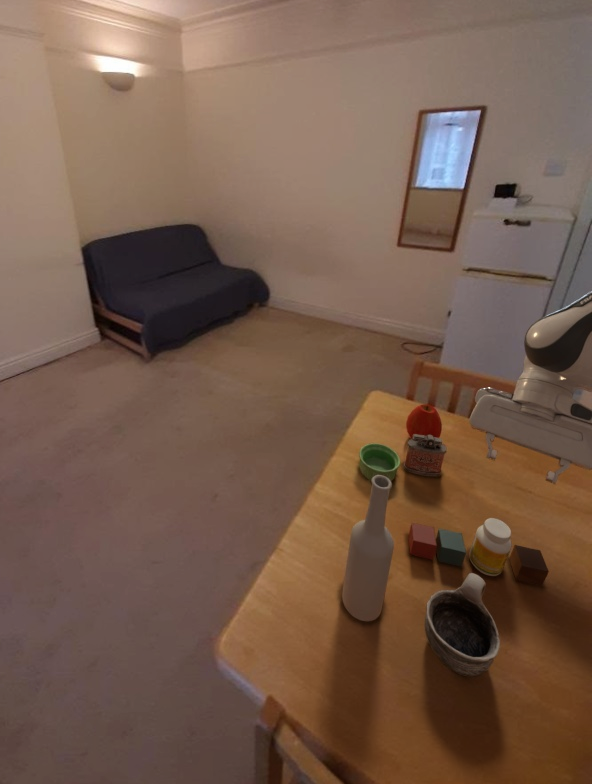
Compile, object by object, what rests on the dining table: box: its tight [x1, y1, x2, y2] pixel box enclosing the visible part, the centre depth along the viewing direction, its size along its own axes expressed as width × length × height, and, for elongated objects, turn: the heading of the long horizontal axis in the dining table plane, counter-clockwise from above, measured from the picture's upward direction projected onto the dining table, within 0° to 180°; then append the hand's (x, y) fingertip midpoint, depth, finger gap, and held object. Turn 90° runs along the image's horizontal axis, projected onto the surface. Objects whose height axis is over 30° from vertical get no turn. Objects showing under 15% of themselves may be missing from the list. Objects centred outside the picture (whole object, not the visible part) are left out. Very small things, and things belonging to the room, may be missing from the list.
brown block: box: [508, 544, 550, 587], centre depth 72 cm, size 4×4×4 cm
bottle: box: [341, 475, 395, 622], centre depth 63 cm, size 7×7×28 cm
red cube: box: [408, 522, 437, 560], centre depth 77 cm, size 4×4×4 cm
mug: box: [424, 572, 501, 677], centre depth 62 cm, size 10×12×10 cm
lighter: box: [403, 434, 448, 477], centre depth 93 cm, size 8×3×10 cm, turn 74°
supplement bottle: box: [468, 517, 513, 577], centre depth 72 cm, size 5×5×10 cm
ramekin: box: [358, 442, 401, 482], centre depth 94 cm, size 9×9×4 cm
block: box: [435, 528, 467, 567], centre depth 75 cm, size 4×4×4 cm
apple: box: [405, 403, 443, 440], centre depth 102 cm, size 8×8×11 cm
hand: (519, 470), depth 76 cm, fingers open, 8 cm apart
